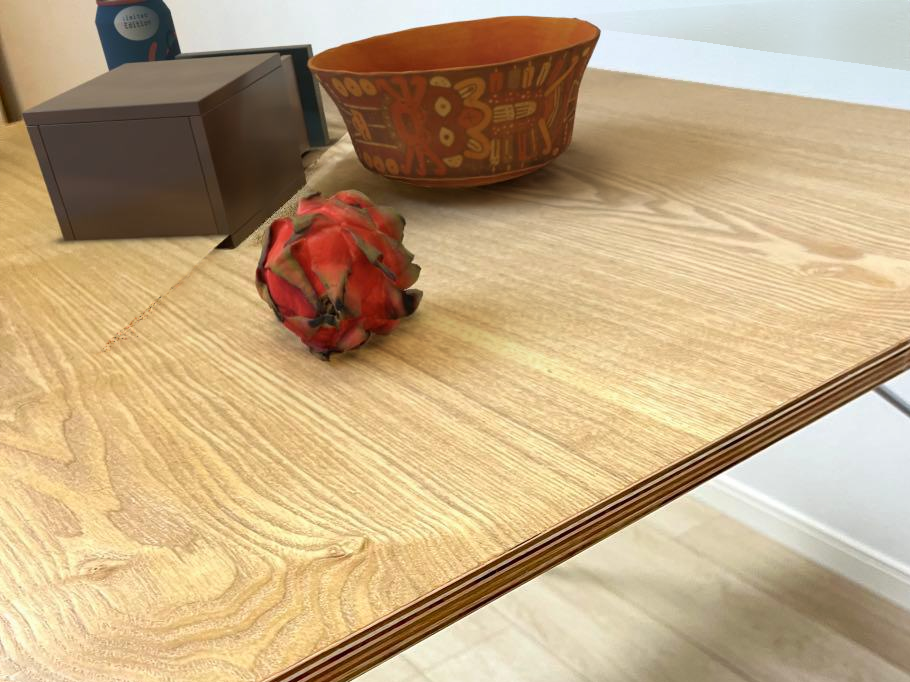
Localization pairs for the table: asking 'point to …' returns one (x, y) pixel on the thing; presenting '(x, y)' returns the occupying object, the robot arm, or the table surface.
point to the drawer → (291, 89)
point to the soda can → (136, 31)
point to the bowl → (460, 97)
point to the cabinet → (170, 149)
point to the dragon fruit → (338, 271)
